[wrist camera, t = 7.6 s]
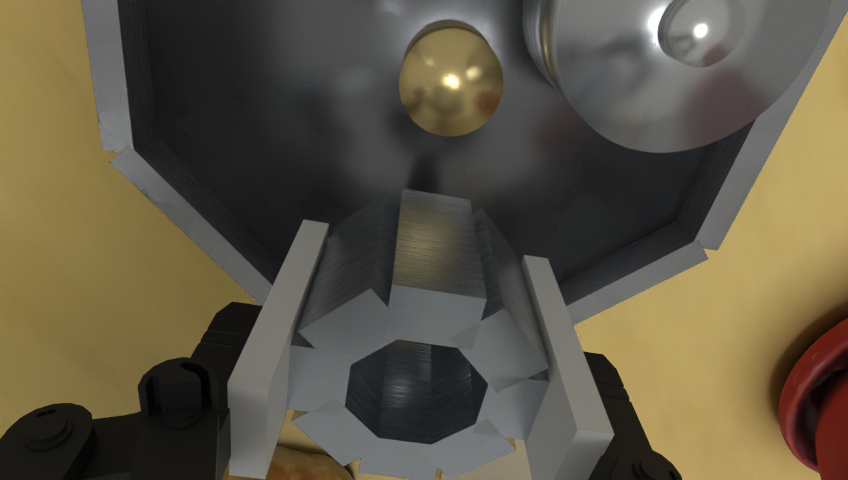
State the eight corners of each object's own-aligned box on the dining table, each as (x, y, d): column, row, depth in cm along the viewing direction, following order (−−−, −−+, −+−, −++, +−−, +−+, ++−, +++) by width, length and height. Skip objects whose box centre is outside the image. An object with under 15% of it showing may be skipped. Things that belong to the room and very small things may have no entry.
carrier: (151, 272, 22) (48, 393, 16) (67, -526, 12) (-334, -1053, 5) (628, 342, 24) (696, 474, 18) (940, -292, 13) (1369, -494, 7)
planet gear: (334, 176, 15) (294, 269, 10) (535, 210, 15) (579, 312, 11) (318, 337, 18) (281, 462, 13) (487, 361, 18) (506, 490, 14)
